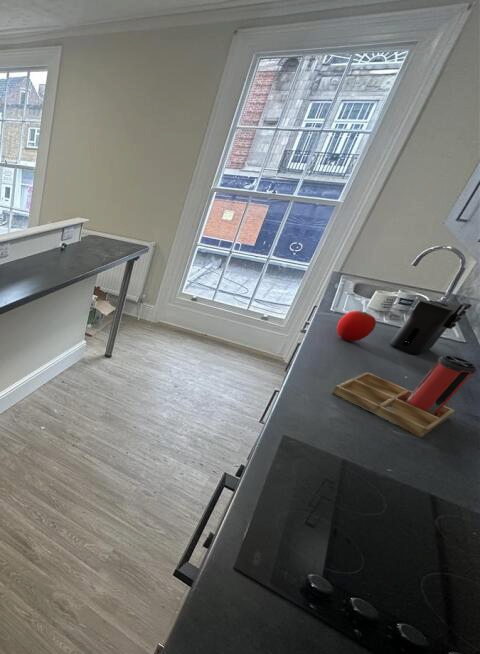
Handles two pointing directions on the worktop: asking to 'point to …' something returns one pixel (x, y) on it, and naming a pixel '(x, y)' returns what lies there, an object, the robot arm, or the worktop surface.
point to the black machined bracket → (427, 325)
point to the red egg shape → (355, 325)
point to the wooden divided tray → (390, 403)
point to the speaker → (440, 384)
